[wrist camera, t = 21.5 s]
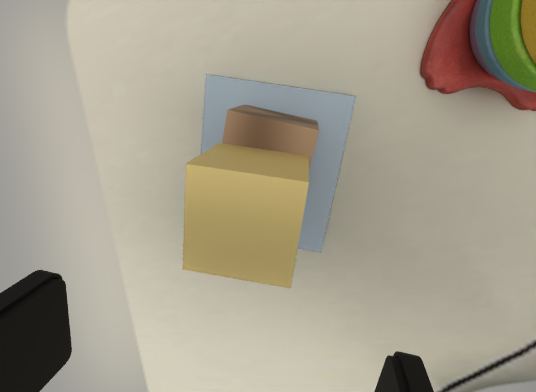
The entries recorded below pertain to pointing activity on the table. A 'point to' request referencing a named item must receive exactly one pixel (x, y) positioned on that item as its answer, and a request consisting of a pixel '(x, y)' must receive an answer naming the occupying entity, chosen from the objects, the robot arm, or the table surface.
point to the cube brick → (244, 213)
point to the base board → (298, 104)
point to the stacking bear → (485, 49)
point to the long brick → (270, 131)
